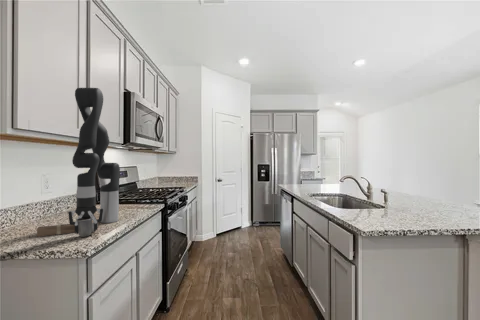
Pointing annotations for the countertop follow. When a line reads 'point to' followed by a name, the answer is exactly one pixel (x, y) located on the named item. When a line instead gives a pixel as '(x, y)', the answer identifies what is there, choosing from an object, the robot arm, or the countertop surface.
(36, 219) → the countertop surface
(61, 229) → the banded brown beam
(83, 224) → the pipe
